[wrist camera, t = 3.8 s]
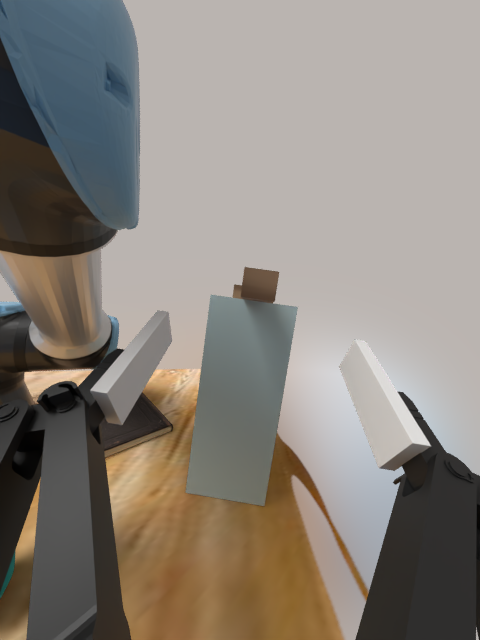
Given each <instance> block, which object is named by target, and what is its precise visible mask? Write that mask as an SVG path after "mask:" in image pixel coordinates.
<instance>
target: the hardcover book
mask: <svg viewBox="0 0 480 640" xmlns="http://www.w3.org/2000/svg"><path fill="white" fill-rule="evenodd" d="M100 425H101V428H102V437H103V445H104V453H105V457H108V456H110V455H113V454H115V453H118V452H120V451H122V450H125V449H127V448H130V447H132V446H135V445H137V444H140V443H142V442H145V441H147V440H150V439H152V438H155V437H157V436H160V435H162V434H164V433H167V432H169V431H172V429H173V425H172V424H171V423H170V422H169V421H168V420H167V419H166V418H165V416H164V415H163V414H162V413H161V412H160V411H159V410H158V409H157V408H156V407H155V406H154V405H153V404H152V402H151V401H150V400H149V399H148V398H147V397H146V396H145V395H144V394H143V393H141V394H140V396H139V398H138V399H137V401H136V403H135V404H134V406H133V408H132V409H131V411H130V413H129V415H128V416H127V418H126V420H125V421H124V423H123V425H119V424H113V423H108V422H107V420H106V418H105V417H104V419H103V420H102V421H101V423H100Z"/></svg>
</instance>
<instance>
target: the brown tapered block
mask: <svg viewBox="0 0 480 640" xmlns="http://www.w3.org/2000/svg"><path fill="white" fill-rule="evenodd" d="M278 276H279V272H276V271H269V270H262V269H254V268H247V267H245V269H244V276H243V283H242V286H241V285H234V292H233V298H238V299H245V300H252V301H259V302H266V303H273V302H274V301H275V295H276V289H277V283H278Z"/></svg>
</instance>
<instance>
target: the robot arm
mask: <svg viewBox="0 0 480 640" xmlns="http://www.w3.org/2000/svg"><path fill="white" fill-rule="evenodd" d="M139 97H140V96H139V62H138V47H137V41H136V36H135V32H134V28H133V25H132V22H131V19H130V16H129V14H128V11H127V10H126V7H125V5H124V3H123V1H122V0H0V273H1V275H2V276H3V278H4V279H5V280H6V282H7V284H8V285H9V287H10V288H11V290H12V291H13V293H14V294H15V296H16V297H17V299H18V300H19V302H0V592H1V589H2V586H3V583H4V580H5V578H6V575H7V572H8V569H9V566H10V563H11V560H12V557H13V555H14V552H15V549H16V546H17V543H18V540H19V537H20V535H21V532H22V529H23V526H24V523H25V520H26V517H27V515H28V512H29V509H30V506H31V503H32V500H33V497H34V494H35V492H36V489H37V486H38V483H39V480H40V477H41V480H40V492H39V503H38V514H37V526H36V537H35V548H34V560H33V571H32V583H31V594H30V605H29V617H28V628H27V639H26V640H131V636H130V630H129V625H128V621H127V619H126V616H125V613H124V609H123V603H122V595H121V587H120V578H119V570H118V562H117V553H116V545H115V537H114V528H113V520H112V512H111V503H110V495H109V487H108V478H107V470H106V462H105V453H104V445H103V437H102V428H101V425H100V423H101V421H102V420H103V419H104V417H105V418H106V420H107V422H108V423H113V424H119V425H123V423H124V421H125V420H126V418H127V416H128V415H129V413H130V411H131V409H132V408H133V406H134V404H135V403H136V401H137V399H138V398H139V396H140V394H141V393H142V391H143V389H144V388H145V386H146V384H147V383H148V381H149V379H150V378H151V376H152V374H153V372H154V371H155V369H156V367H157V366H158V364H159V362H160V361H161V359H162V357H163V355H164V354H165V352H166V351H167V349H168V347H169V346H170V344H171V342H172V336H171V329H170V321H169V313H168V312H165V311H157V312H156V313H155V314H154V316H153V317H152V318H151V319H150V320H149V321H148V323H147V324H146V325H145V326H144V327H143V329H142V330H141V331H140V332H139V334H137V336H136V337H135V338H134V339H133V340H132V342H131V343H130V344H129V345H128V346H127V348H126V349H125V350H123V349H117V344H118V336H119V323H118V320H117V318H115V317H111V316H109V315H107V314H106V313H105V312H104V311H103V310H102V293H101V292H102V291H101V248H103V247H105V246H106V245H107V244H109V243H110V242H111V241H112V240H113V238H114V237H115V236H116V233H117V232H118V230H121V229H125V228H127V229H133V228H135V227H136V226H137V225H138V215H139V186H140V185H139V184H140V179H139V169H140V168H139V167H140V163H139V162H140V161H139V156H140V104H139V103H140V98H139ZM339 368H340V370H341V373H342V375H343V378H344V380H345V383H346V385H347V388H348V391H349V393H350V396H351V398H352V401H353V403H354V406H355V408H356V411H357V414H358V416H359V418H360V421H361V424H362V426H363V429H364V431H365V434H366V436H367V439H368V442H369V444H370V447H371V449H372V452H373V454H374V457H375V459H376V462H377V465H378V467H379V468H381V469H387V470H393V471H395V470H396V469H398V468H399V467H401V466H402V467H403V469H404V471H405V474H403V475H402V476H400V477H399V478H397V479H395V480H394V482H393V483H394V484H397V483H399V482H400V485H399V489H398V492H397V496H396V499H395V503H394V506H393V510H392V513H391V517H390V520H389V524H388V527H387V531H386V534H385V538H384V541H383V545H382V548H381V552H380V556H379V559H378V563H377V566H376V569H375V573H374V576H373V580H372V584H371V587H370V590H369V594H368V597H367V601H366V605H365V608H364V612H363V615H362V619H361V622H360V626H359V629H358V633H357V636H356V640H476V627H477V632H478V637H479V640H480V476H479V475H476V474H474V473H472V472H471V471H470V469H469V468H468V467H467V466H466V465H465V464H464V463H463V462H461V461H460V460H459V459H458V458H456V457H454V456H453V455H451V454H449V453H446V451H445V450H444V449H443V447H442V446H441V444H440V443H439V441H438V439H437V438H436V436H435V435H434V433H433V432H432V430H431V429H430V428H429V426H428V425H427V423H426V421H425V420H423V417H422V415H421V414H420V413H419V412H418V409H417V408H416V406H415V405H414V403H413V402H412V401H411V400H410V399H409V398H408V397H407V396H406V395H405V394H404V393H403V392H397V391H396V389H395V387H394V386H393V384H392V382H391V381H390V379H389V378H388V376H387V375H386V373H385V371H384V370H383V368H382V366H381V365H380V363H379V362H378V360H377V358H376V357H375V355H374V353H373V352H372V350H371V349H370V347H369V345H368V344H367V342H366V341H362V340H354V342H353V343H352V345H351V347H350V348H349V350H348V352H347V354H346V355H345V357H344V359H343V361H342V362H341V364H340V366H339ZM74 369H94V370H93V371H92V372H91V373H90V375H89V376H88V377H87V378H86V379H85V380H84V381H83V382H82V383H81V384H80V385H79V386H78V387H77V385H76V384H75V383H74V382H72V381H64V382H59V383H57V384H54V385H52V386H50V387H49V388H47V389H46V390H44V391H43V392H42V394H41V395H40V396H39V398H38V400H37V402H38V403H39V404H37V405H35V403H34V401H33V398H32V396H31V394H30V392H29V390H28V388H27V386H26V384H25V382H24V372H32V371H52V370H74Z"/></svg>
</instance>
